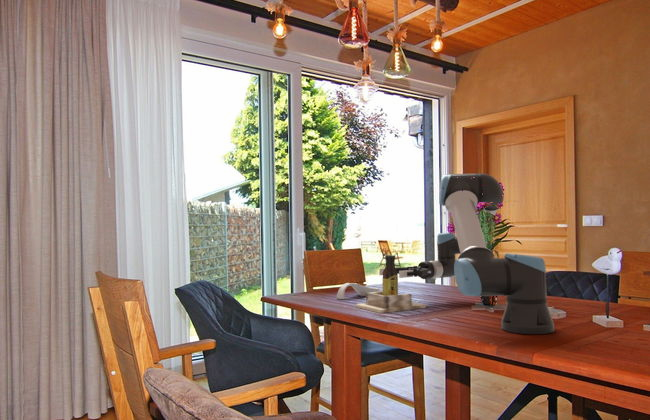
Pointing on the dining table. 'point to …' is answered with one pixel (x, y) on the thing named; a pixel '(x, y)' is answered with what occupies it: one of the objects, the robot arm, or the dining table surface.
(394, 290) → the sauce bottle
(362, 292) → the grey arched piece
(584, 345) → the dining table surface
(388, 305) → the U-rest
